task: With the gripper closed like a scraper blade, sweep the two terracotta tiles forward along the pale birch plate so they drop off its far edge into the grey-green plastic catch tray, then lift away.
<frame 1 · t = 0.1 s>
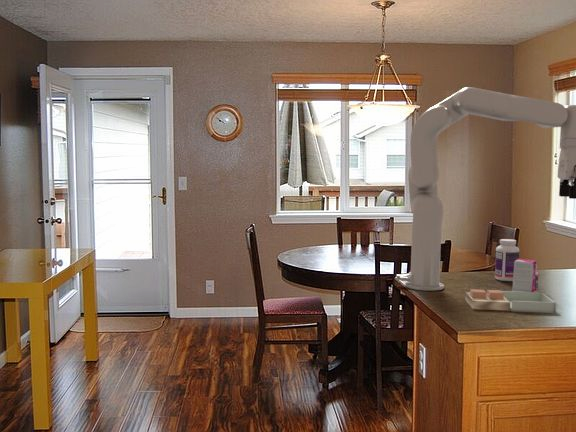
hand: (569, 197, 213), 31 cm above the countertop, fingers open, 9 cm apart
pill bottle 2: (506, 280, 237), on the countertop
pill bottle: (529, 291, 217), on the countertop
tray: (527, 306, 195), on the countertop
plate: (486, 305, 196), on the countertop
supplement box: (523, 296, 210), on the countertop
tile 2: (495, 297, 196), point 2 cm above the countertop, touching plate
tile 1: (477, 296, 196), point 2 cm above the countertop, touching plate
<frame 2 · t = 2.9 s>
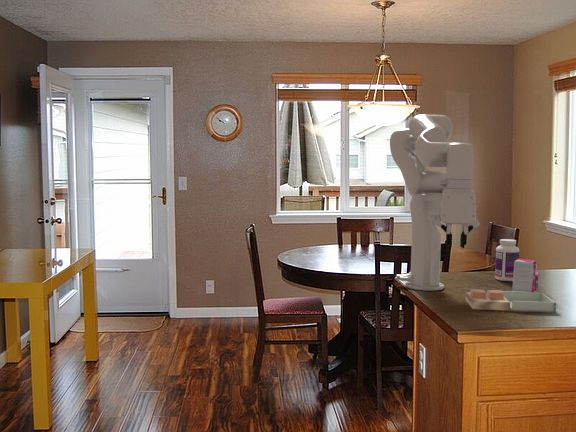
hand: (455, 246, 195), 17 cm above the countertop, fingers open, 3 cm apart
nothing on the countertop moved.
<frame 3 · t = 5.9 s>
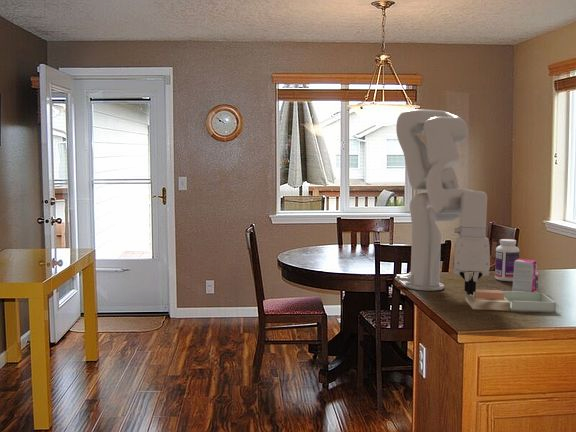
hand: (469, 293, 196), 3 cm above the countertop, fingers closed
tile 2: (495, 297, 196), point 2 cm above the countertop, touching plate, tile 1
tile 1: (481, 296, 196), point 2 cm above the countertop, touching gripper, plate, tile 2
everything else where it was.
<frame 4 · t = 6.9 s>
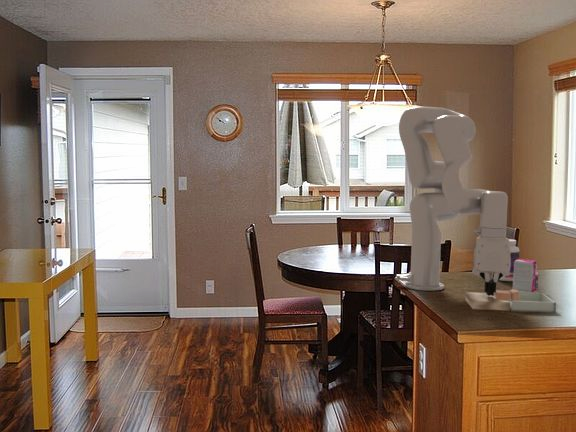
hand: (489, 294, 196), 3 cm above the countertop, fingers closed
tile 2: (511, 297, 195), point 2 cm above the countertop, tilted 78°, touching tray
tile 1: (501, 297, 196), point 2 cm above the countertop, touching gripper, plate
everything else where it was.
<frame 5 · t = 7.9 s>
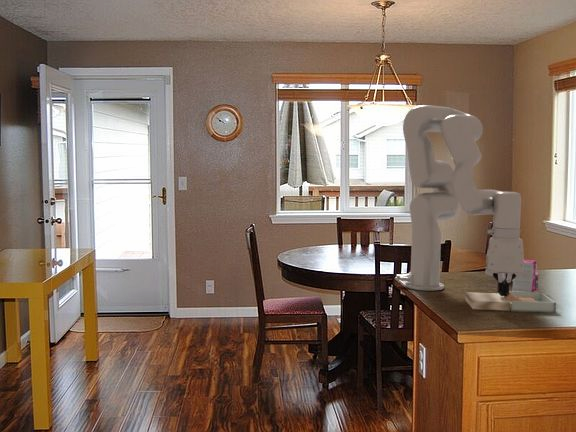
hand: (502, 295, 195), 3 cm above the countertop, fingers closed
tile 2: (526, 299, 195), point 2 cm above the countertop, tilted 180°, touching tile 1, tray
tile 1: (510, 300, 195), point 2 cm above the countertop, tilted 32°, touching gripper, tile 2, tray
everything else where it was.
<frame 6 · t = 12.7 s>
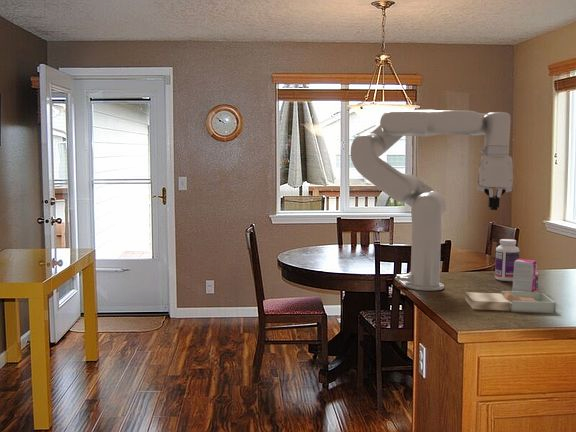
hand: (493, 209, 210), 27 cm above the countertop, fingers closed
tile 2: (527, 299, 195), point 2 cm above the countertop, tilted 180°, touching tray
tile 1: (510, 300, 195), point 2 cm above the countertop, tilted 31°, touching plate, tray
everything else where it was.
at the end: tile 2 inside the target area (0.4 cm from its centre), point 2.3 cm above the countertop; tile 1 inside the target area (5.0 cm from its centre), point 1.5 cm above the countertop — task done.
